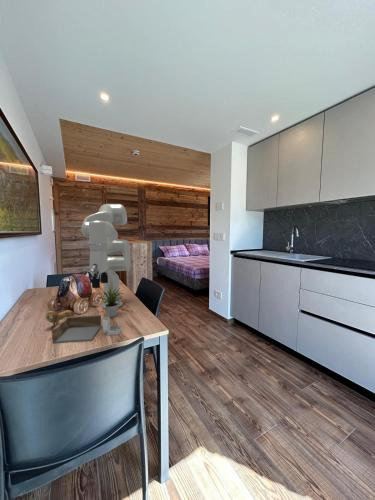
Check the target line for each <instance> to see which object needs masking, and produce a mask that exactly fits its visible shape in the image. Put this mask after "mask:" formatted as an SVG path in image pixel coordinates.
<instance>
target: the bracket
mask: <svg viewBox="0 0 375 500" xmlns="http://www.w3.org/2000/svg"><path fill="white" fill-rule="evenodd" d="M110 319H111V317H110V316H104V317H103V319H102V333H103V334H102V336H111V335H112V336H113V335H114V336H115V335H120V333H121V332H122V325H115V326H113V325H111V320H110Z"/></svg>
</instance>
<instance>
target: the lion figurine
mask: <svg viewBox="0 0 375 500" xmlns="http://www.w3.org/2000/svg"><path fill="white" fill-rule="evenodd" d="M66 317H75V315H74V312H73V311H72V310H70V309H67V310H64V311H61V312H58V311H54V310H48V311H47V312H46V314H45V319H46V321H47V322H49V323H51V324H52V326H51V328H55V327H56V326H57V325H58V324H59V323H60V321H63V320H64V319H65V318H66Z"/></svg>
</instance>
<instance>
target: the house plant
mask: <svg viewBox="0 0 375 500" xmlns="http://www.w3.org/2000/svg"><path fill="white" fill-rule="evenodd" d="M116 288H117V287H116ZM116 288H115V290H116ZM119 289H120V294H119V292H118V291H119ZM119 289H118V290H117V291H116V292H115V290H114V291H113V293H112V291H111V288H109V293H108V294H109V297H108V295H107V293H106V292H104V290H102V292H103V293H101V295H103V297H100V299H102V300H106V301H104V302H103V303H104V304H105V303H108V304H106V305H105V307H106V308H105V311H106V315H107V316H110V318H114V317H117V315H118V310H119V307H118V303H116V301H119V300H118V299H120V300H121V299H122V298H123V297H124V296H123V295H122V294H124V292H123V291H125V290H121V287H120V288H119ZM117 292H118V293H117ZM104 294H105V295H106V296H107V297H106V296H105V295H104ZM118 295H120V296H121V295H122V296H121V297H120V298H118V297H117V296H118ZM104 296H105V297H106V298H108V300H107V299H106V298H104ZM116 297H117V298H118V299H117V298H116ZM115 298H116V299H115Z"/></svg>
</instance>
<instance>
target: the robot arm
mask: <svg viewBox="0 0 375 500" xmlns="http://www.w3.org/2000/svg"><path fill="white" fill-rule="evenodd" d="M82 221H83V222H82V224H81V234H82V236H84V237H86V238H89V252H90V253H89V274H90V277H91V287H92V289H100V288H101V284H102V285H103V291H104V292H106V293H107V295H108V297H109V294H108V293H109V288H111V291H112V293H113V291H114V290H115V288H116V287H117V288H116V290H115V292H116V291H117V290H118V289H119V288H120V289H119V291H118V292H119V294H120V295H118V296H117V297H118V298H121V293H120V291H121V287H120V277H119V275H118V274H117V272H121V271H122V272H125V271H126V272H127V271H129V270H130V269H131V247H130V242H129V241H128V240H127V239H118V238H119V237H118V236H119V234H118V231H117V230H116V228H115V227H114V226H124V225H127V223H128V214H127V210H126V207H125V206H124V205H123V204H121V203H104V204H102V205H101V206H100V207H99V209H98V212H96V213H92V214H90V215H88V216H86V217H85V219H83V220H82ZM118 292H117V293H118ZM104 295H105V294H103V298H106V297H107V296H106V295H105V296H106V297H105V296H104ZM117 297H116V298H117ZM116 298H115V299H116ZM118 298H117V299H118ZM106 299H107V300H108V298H106ZM103 300H104V299H103ZM118 300H119V301H116V303H118V308H120V307H121V306H123V304H124V303H123V301H121V299H118ZM104 301H106V300H104ZM106 304H108V303H105V304H104V302H103V303H102V304H101V308H103V309H106V307H105V305H106Z"/></svg>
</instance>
